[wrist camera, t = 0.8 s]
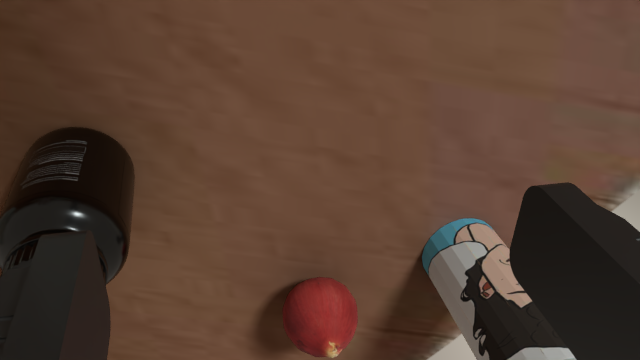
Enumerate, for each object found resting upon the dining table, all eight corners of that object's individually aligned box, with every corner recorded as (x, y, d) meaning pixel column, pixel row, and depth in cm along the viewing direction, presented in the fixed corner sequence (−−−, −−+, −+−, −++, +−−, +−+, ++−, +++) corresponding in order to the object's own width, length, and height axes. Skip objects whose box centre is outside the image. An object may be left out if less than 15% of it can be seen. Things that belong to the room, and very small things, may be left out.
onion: (333, 311, 49) (358, 386, 42) (268, 308, 47) (284, 386, 41) (352, 258, 46) (382, 330, 40) (285, 253, 45) (305, 326, 38)
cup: (490, 272, 51) (593, 415, 38) (420, 286, 50) (502, 437, 37) (499, 212, 47) (616, 347, 35) (423, 225, 46) (516, 370, 34)
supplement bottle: (12, 196, 37) (-47, 329, 27) (41, 107, 35) (-12, 219, 25) (117, 224, 40) (99, 354, 30) (151, 145, 37) (144, 258, 27)
